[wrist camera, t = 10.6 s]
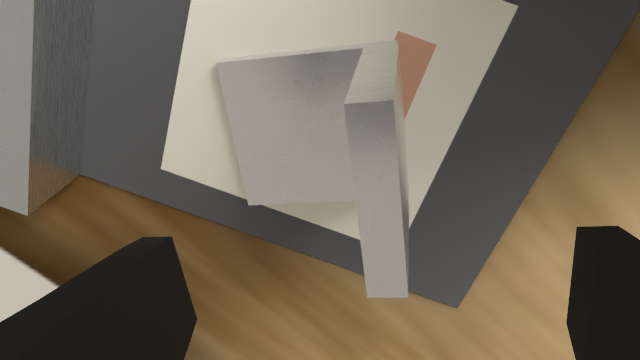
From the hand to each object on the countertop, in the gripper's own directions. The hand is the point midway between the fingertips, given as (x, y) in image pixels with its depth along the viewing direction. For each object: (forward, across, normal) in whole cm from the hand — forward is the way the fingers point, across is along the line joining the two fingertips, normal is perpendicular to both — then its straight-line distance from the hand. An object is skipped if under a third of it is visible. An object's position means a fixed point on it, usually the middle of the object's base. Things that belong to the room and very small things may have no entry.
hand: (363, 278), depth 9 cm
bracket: (+8, +2, 0) cm, 8 cm away
